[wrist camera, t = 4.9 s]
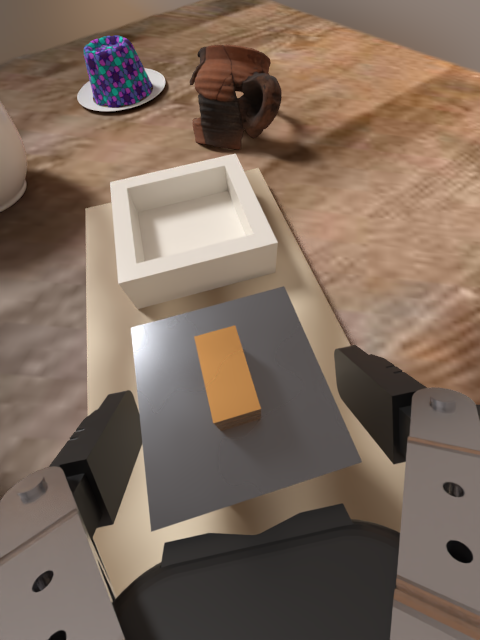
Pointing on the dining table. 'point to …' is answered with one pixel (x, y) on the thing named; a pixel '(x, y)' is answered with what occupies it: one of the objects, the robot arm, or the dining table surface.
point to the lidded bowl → (11, 162)
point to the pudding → (117, 76)
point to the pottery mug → (233, 95)
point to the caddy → (189, 231)
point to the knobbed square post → (232, 407)
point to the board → (119, 375)
